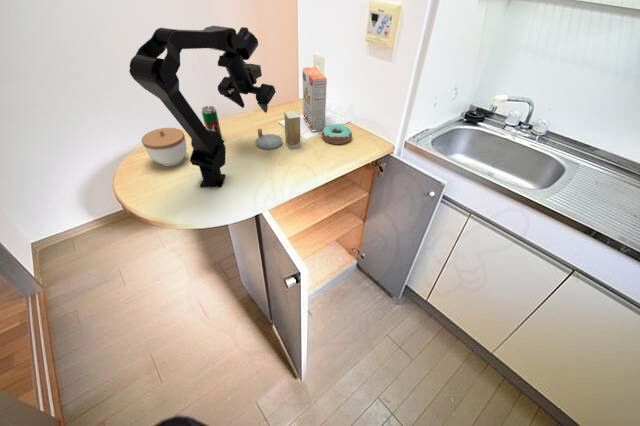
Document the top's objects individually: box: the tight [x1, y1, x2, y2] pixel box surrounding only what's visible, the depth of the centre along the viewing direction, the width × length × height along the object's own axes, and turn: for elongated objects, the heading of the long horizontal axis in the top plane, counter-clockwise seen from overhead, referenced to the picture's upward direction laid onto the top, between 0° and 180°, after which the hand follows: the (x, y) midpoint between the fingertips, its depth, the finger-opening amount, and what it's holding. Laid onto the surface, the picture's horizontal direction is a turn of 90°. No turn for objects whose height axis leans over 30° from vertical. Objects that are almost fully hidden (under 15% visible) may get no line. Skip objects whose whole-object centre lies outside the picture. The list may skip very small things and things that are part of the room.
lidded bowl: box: [141, 127, 188, 167], centre depth 96 cm, size 13×13×11 cm
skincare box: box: [283, 109, 301, 150], centre depth 106 cm, size 6×4×12 cm
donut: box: [321, 123, 353, 145], centre depth 114 cm, size 12×12×4 cm
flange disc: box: [255, 128, 283, 151], centre depth 110 cm, size 10×10×4 cm
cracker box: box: [302, 66, 327, 132], centre depth 117 cm, size 14×6×21 cm, turn 17°
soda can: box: [201, 105, 223, 139], centre depth 108 cm, size 5×5×12 cm
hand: (254, 109), depth 101 cm, fingers open, 9 cm apart
